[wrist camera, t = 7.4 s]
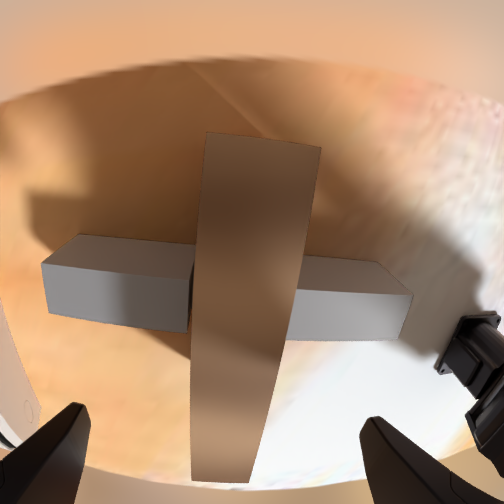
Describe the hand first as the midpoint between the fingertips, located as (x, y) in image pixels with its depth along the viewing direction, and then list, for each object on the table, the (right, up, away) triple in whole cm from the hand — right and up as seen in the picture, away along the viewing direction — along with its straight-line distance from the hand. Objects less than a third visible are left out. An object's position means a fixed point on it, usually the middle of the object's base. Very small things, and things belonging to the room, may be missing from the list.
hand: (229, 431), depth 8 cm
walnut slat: (-1, +4, +11) cm, 12 cm away
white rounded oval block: (-22, -3, +13) cm, 25 cm away
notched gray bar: (-1, +4, +11) cm, 12 cm away
